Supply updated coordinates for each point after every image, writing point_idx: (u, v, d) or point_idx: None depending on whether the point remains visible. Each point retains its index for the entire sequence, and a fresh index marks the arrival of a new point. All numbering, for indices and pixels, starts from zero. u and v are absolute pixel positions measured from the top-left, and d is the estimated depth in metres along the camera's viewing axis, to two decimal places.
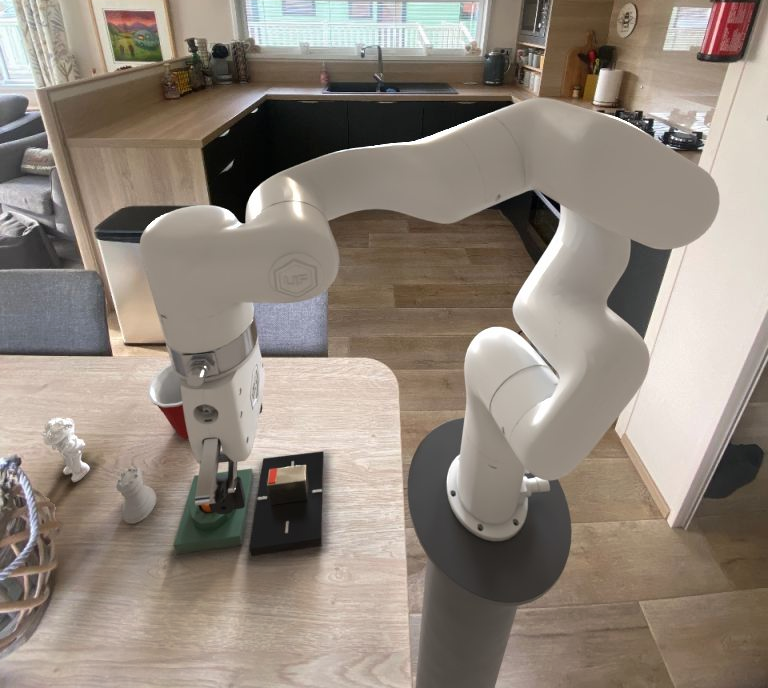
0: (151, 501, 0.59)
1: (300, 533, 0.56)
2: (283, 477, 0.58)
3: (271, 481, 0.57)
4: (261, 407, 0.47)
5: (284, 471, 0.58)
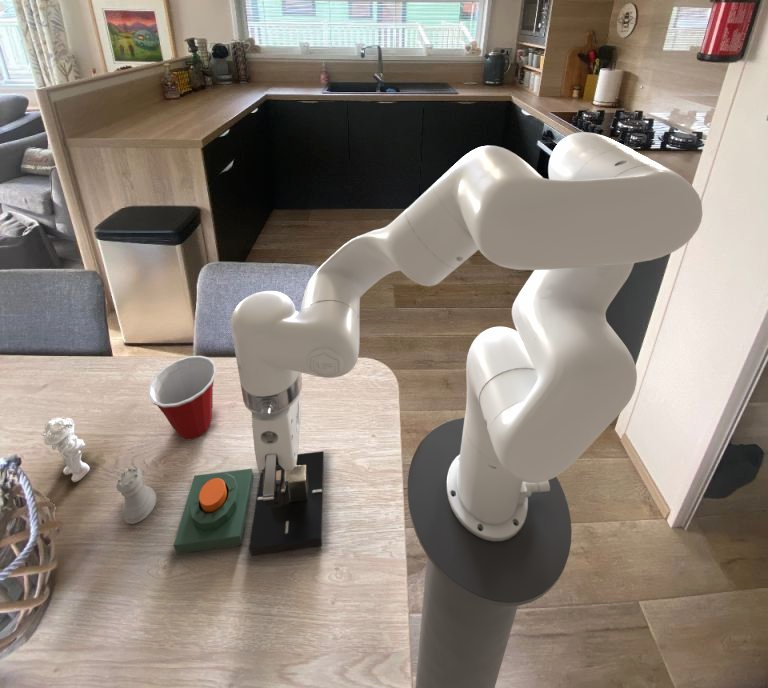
0: (151, 501, 0.59)
1: (300, 533, 0.56)
2: None
3: None
4: None
5: None
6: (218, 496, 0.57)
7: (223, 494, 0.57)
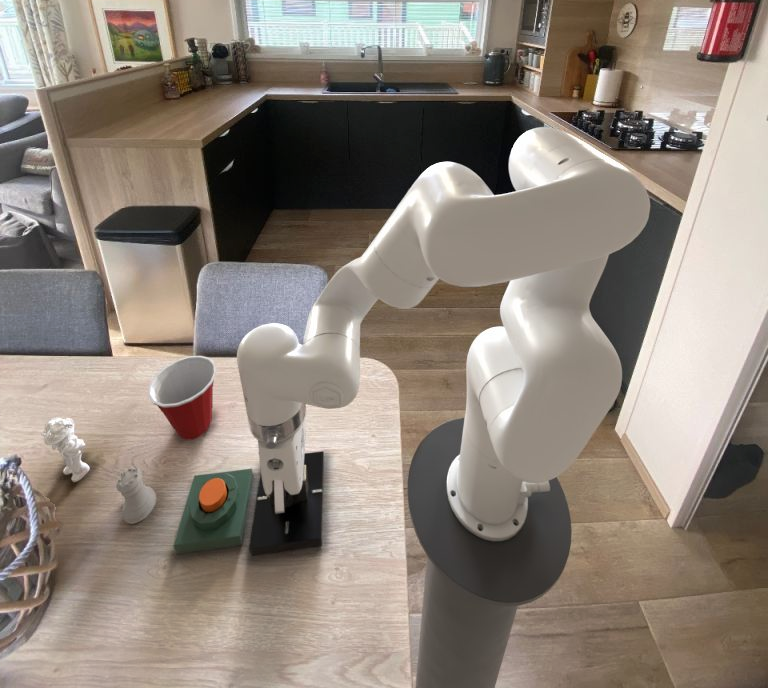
0: (151, 501, 0.59)
1: (300, 533, 0.56)
2: None
3: None
4: None
5: None
6: (218, 496, 0.57)
7: (223, 494, 0.57)
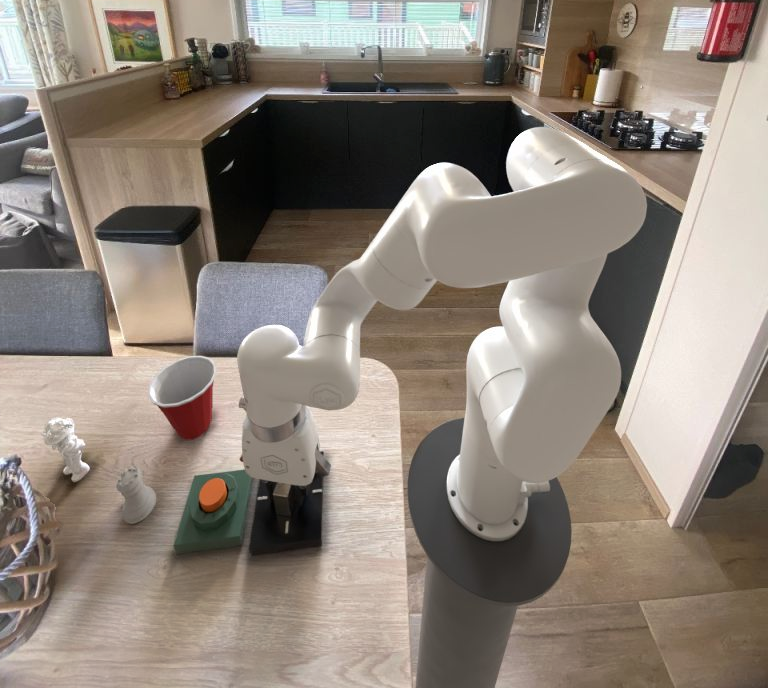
0: (151, 501, 0.59)
1: (300, 533, 0.56)
2: None
3: None
4: (298, 502, 0.58)
5: None
6: (218, 496, 0.57)
7: (223, 494, 0.57)
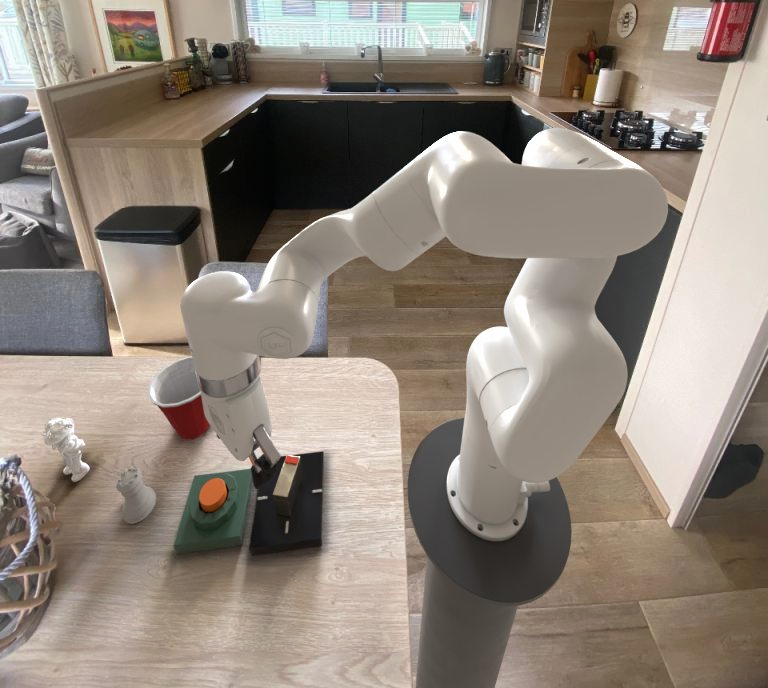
0: (151, 501, 0.59)
1: (300, 533, 0.56)
2: (286, 471, 0.58)
3: (286, 458, 0.60)
4: None
5: (291, 472, 0.58)
6: (218, 496, 0.57)
7: (223, 494, 0.57)
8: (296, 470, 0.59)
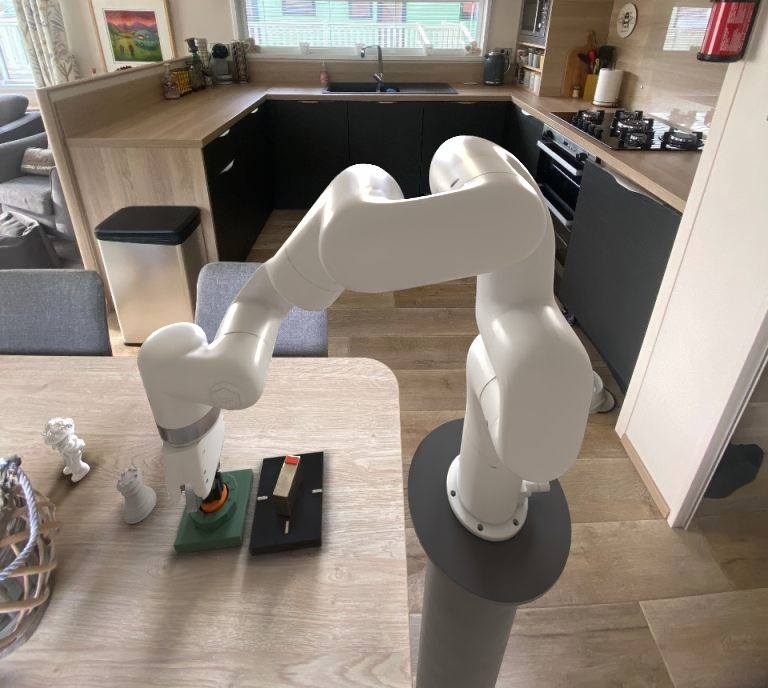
0: (151, 501, 0.59)
1: (300, 533, 0.56)
2: (286, 471, 0.58)
3: (286, 458, 0.60)
4: None
5: (291, 472, 0.58)
6: (219, 500, 0.57)
7: (224, 498, 0.58)
8: (296, 470, 0.59)
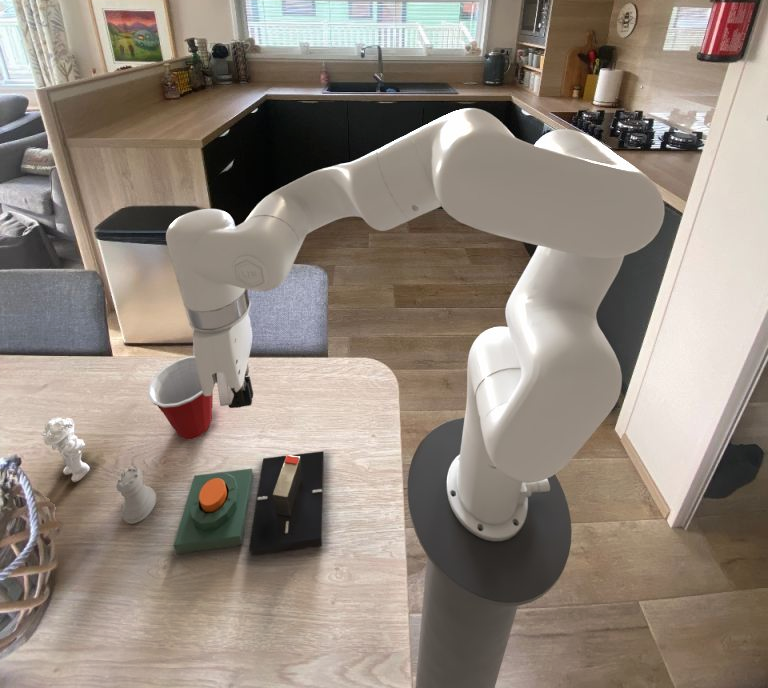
0: (151, 501, 0.59)
1: (300, 533, 0.56)
2: (286, 471, 0.58)
3: (286, 458, 0.60)
4: None
5: (291, 472, 0.58)
6: (218, 496, 0.57)
7: (223, 494, 0.57)
8: (296, 470, 0.59)
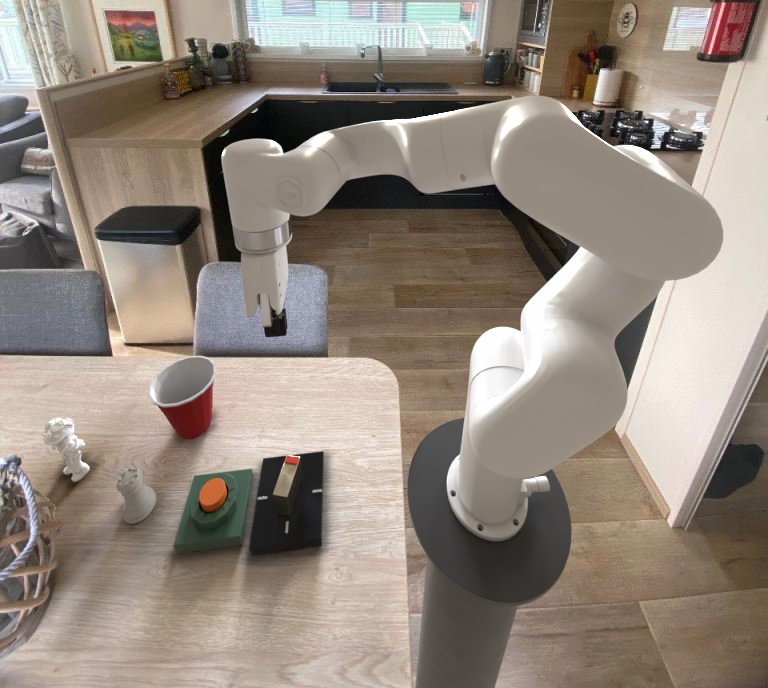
0: (151, 501, 0.59)
1: (300, 533, 0.56)
2: (286, 471, 0.58)
3: (286, 458, 0.60)
4: (265, 331, 0.59)
5: (291, 472, 0.58)
6: (218, 496, 0.57)
7: (223, 494, 0.57)
8: (296, 470, 0.59)
